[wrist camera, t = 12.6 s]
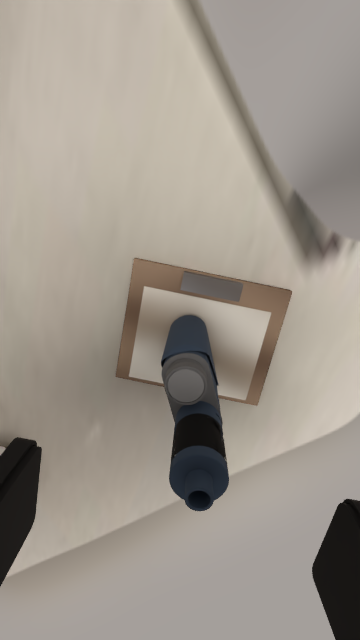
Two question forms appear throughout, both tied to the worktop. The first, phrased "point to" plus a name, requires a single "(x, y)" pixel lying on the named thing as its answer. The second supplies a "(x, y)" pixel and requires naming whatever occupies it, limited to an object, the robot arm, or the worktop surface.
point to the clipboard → (220, 319)
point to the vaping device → (194, 415)
